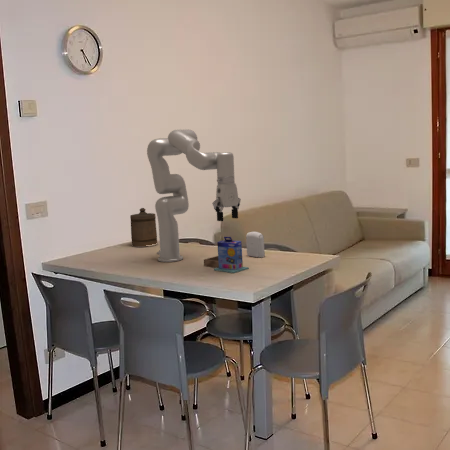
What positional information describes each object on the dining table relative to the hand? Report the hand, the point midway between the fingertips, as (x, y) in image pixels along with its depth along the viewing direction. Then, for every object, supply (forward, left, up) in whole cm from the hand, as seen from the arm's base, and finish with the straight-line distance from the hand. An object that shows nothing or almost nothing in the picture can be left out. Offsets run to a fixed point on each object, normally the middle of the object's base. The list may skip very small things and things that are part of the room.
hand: (227, 219), depth 246 cm
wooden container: (-90, +25, -23) cm, 96 cm away
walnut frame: (-11, +7, -22) cm, 26 cm away
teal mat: (+1, 0, -22) cm, 22 cm away
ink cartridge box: (+1, 0, -22) cm, 22 cm away
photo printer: (-9, +29, -23) cm, 38 cm away
